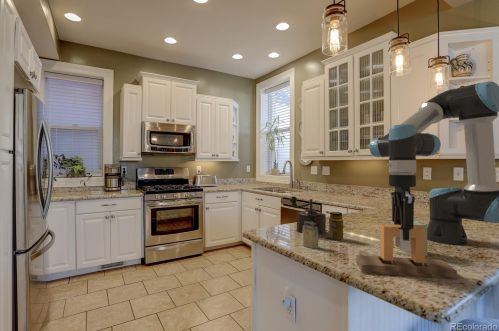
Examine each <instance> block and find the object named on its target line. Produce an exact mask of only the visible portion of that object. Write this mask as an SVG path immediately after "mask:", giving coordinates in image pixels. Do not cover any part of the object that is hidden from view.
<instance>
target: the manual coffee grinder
mask: <svg viewBox="0 0 499 331" xmlns="http://www.w3.org/2000/svg"><path fill="white" fill-rule="evenodd" d="M297 200H298V198H297V196H295V195H294V196H290V197H289V199H288V201H289V202H290V203H291V205H290V206H291V207H296V208H298V209H299V208H305V210H303V211H301V212H296V232H298V233H301V234H303V226H304V222H306V221H308V222H313V223H316V225H314V227H318V235H321V234H326V233H327V230H326V229H327V227H326V226H327V224H326V222H327V220H326V219H327V218H326V217H327V216H326V213H323V212H318V211H317V210H315V209H313V199H312V198H310V199H309V202H308V203H306V204H303V205H298V204H297ZM308 206H309V208H306V207H308ZM308 225H309V226H310V224H308Z"/></svg>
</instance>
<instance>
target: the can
mask: <svg viewBox="0 0 499 331" xmlns="http://www.w3.org/2000/svg"><path fill="white" fill-rule="evenodd" d="M428 224H429V223H427V222H425V221H421V220H415V219H414V225H417V226H421V227H423V228H425V257H428V256H429V254H428V239H427V226H428ZM399 252H400V253H401V254H403V255H405V256H409V257H411V238H410V251H402V250H400V249H399Z"/></svg>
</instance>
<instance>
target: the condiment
mask: <svg viewBox="0 0 499 331" xmlns="http://www.w3.org/2000/svg"><path fill="white" fill-rule="evenodd" d="M322 239H323V240H325V241H328V242H331V243H338V242H343V241H344V242H345V241H347V240H348V238H344V219H343V212H341V211H331V212H329V218H328V236H327V237H323V238H322Z"/></svg>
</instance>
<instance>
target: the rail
mask: <svg viewBox="0 0 499 331" xmlns="http://www.w3.org/2000/svg"><path fill="white" fill-rule="evenodd" d="M355 258H356V259H355V263H356V265H357V267H358V268H359V270H360V271H361V273H362V274H375V275H377V274H378V275H389V276H390V275H392V276H393V275H394V276H408V277H421V278H422V277H423V278H435V279H449V280H458V271H457V269H456V268H454V267H452V266H451V265H449V264H448V263H447V262H446V261H444V260H442V259H430V258H425V263H418V262H415V261H414V260H412V259H411V257H400V256H399V257H397V256H396V257H395V256H393V261H387V260H383V259H382V257H381V256H380V255H379V256H378V255H363V254H361V255H359V254H356V255H355Z"/></svg>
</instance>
